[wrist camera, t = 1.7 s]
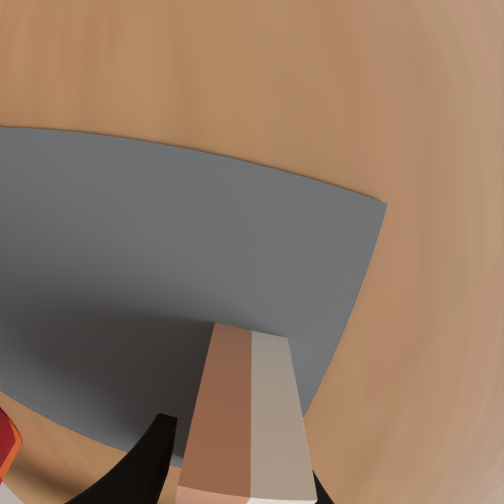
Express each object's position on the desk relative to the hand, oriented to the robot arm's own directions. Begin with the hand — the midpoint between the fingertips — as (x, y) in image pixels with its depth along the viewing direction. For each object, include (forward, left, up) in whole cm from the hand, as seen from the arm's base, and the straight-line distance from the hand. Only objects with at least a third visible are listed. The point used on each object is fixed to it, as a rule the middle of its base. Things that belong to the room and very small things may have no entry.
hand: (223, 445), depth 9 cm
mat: (+2, +7, -2) cm, 8 cm away
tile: (0, 0, -2) cm, 2 cm away
